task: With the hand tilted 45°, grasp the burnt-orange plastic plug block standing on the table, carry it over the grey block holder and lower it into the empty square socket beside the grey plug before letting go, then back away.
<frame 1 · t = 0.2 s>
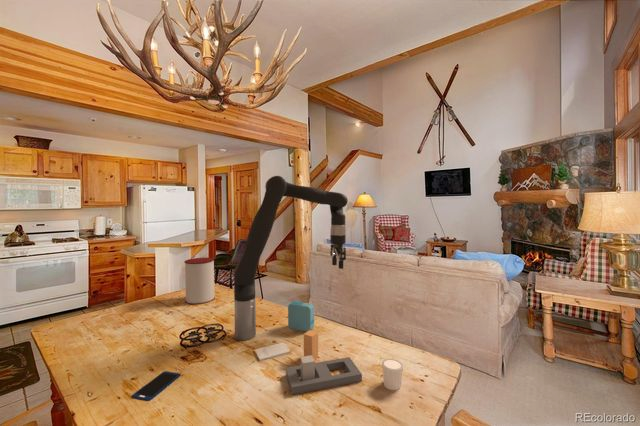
hand: (337, 266, 139), 29 cm above the table, tool pointing down, fingers open, 8 cm apart
grey block holder: (323, 377, 97), on the table
external hard drive: (272, 354, 114), on the table
data package: (301, 328, 136), on the table
cell phone: (157, 387, 94), on the table
container: (200, 299, 177), on the table
plug: (311, 358, 110), on the table
shot glass: (392, 385, 94), on the table
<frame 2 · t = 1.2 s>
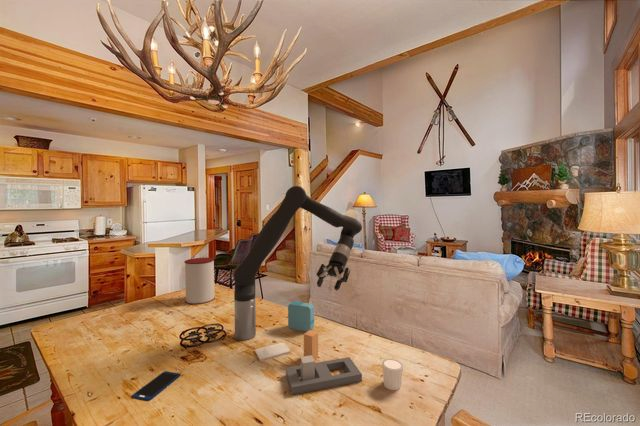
hand: (327, 287, 119), 25 cm above the table, tool tilted 45°, fingers open, 8 cm apart
nothing on the table moved.
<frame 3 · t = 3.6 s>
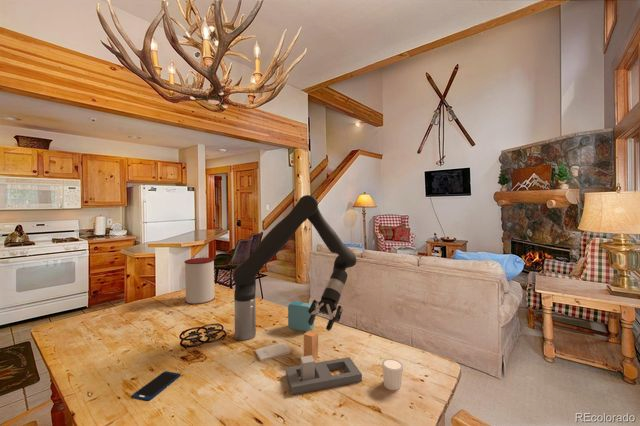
hand: (318, 327, 114), 10 cm above the table, tool tilted 45°, fingers open, 8 cm apart
nothing on the table moved.
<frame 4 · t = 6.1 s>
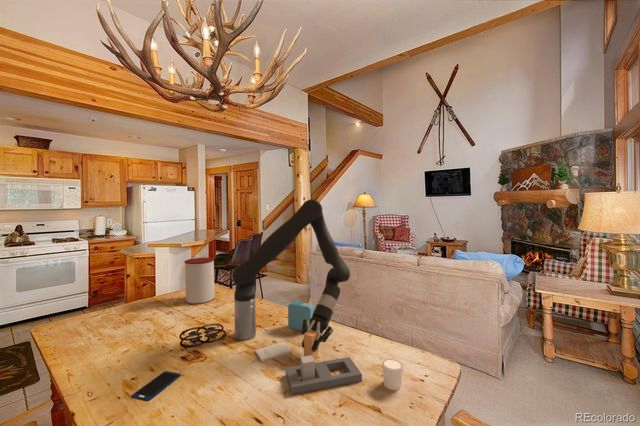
hand: (308, 349, 108), 5 cm above the table, tool tilted 45°, fingers closed on plug, 4 cm apart
plug: (311, 358, 110), on the table, touching gripper
everything else where it was.
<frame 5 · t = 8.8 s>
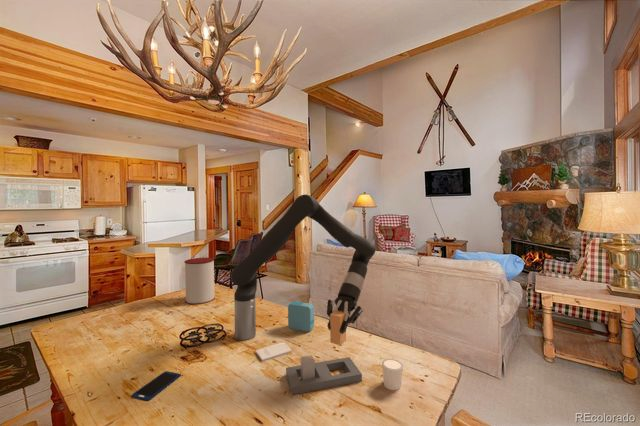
hand: (335, 330, 97), 16 cm above the table, tool tilted 45°, fingers closed on plug, 4 cm apart
plug: (338, 341, 99), point 12 cm above the table, touching gripper
everything else where it was.
when the fingers open (6 cm above the table, at t = 11.5 s): plug drops 1 cm, resting in grey block holder.
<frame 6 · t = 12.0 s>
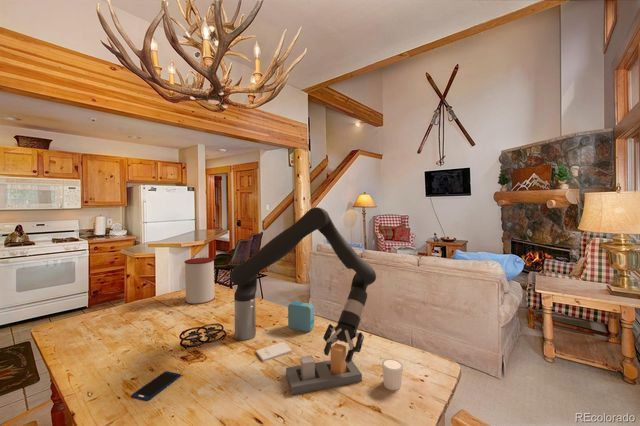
hand: (336, 358, 98), 7 cm above the table, tool tilted 45°, fingers open, 8 cm apart
plug: (338, 375, 99), resting in grey block holder
everything else where it was.
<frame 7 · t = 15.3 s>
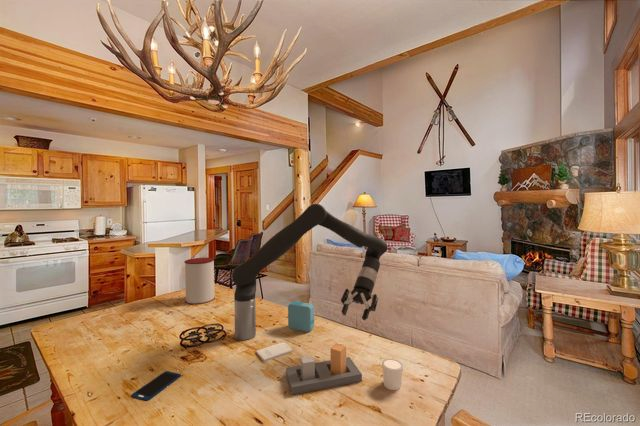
hand: (353, 317, 108), 17 cm above the table, tool tilted 45°, fingers open, 8 cm apart
nothing on the table moved.
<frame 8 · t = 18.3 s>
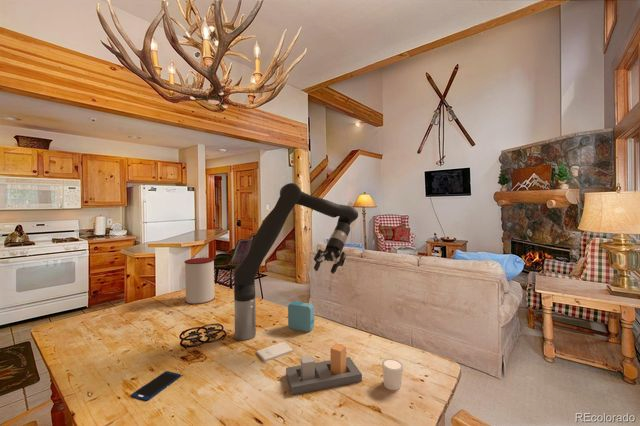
hand: (323, 271, 123), 31 cm above the table, tool tilted 45°, fingers open, 8 cm apart
at the end: plug 0.1 cm from the target spot on the grey block holder, point 0.0 cm above the grey block holder's base; plug tilted 0°; the gripper is holding nothing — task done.
